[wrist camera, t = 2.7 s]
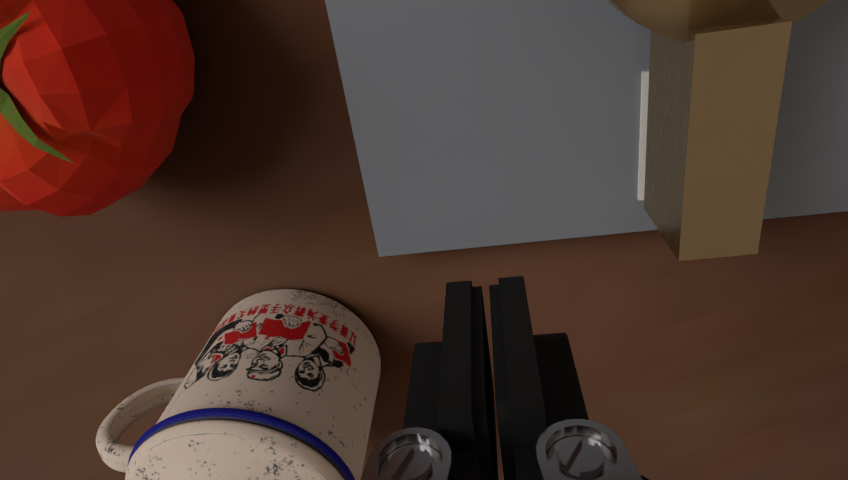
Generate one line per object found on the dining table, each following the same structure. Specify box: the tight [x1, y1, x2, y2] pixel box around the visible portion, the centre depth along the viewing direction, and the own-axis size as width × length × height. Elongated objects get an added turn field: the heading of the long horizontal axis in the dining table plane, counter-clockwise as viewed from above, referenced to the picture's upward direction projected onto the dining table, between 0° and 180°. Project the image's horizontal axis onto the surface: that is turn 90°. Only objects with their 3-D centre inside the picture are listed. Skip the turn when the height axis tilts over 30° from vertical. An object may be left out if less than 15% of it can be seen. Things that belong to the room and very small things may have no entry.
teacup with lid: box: [96, 289, 381, 480], centre depth 24 cm, size 12×9×12 cm
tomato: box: [0, 0, 195, 216], centre depth 19 cm, size 11×11×8 cm
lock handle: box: [607, 0, 829, 261], centre depth 16 cm, size 14×8×4 cm, turn 8°
